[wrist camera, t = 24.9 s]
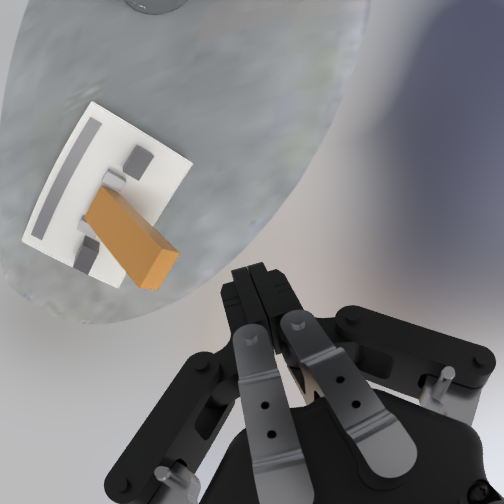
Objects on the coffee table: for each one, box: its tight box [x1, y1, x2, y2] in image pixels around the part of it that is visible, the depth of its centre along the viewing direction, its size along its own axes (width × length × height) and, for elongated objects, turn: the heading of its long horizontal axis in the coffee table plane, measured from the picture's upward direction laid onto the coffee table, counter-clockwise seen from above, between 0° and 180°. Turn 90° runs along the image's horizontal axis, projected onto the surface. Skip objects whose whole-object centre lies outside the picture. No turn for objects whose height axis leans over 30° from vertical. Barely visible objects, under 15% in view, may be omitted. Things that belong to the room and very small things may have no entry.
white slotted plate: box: [22, 101, 193, 288], centre depth 34 cm, size 18×14×8 cm
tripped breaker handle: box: [84, 186, 180, 290], centre depth 29 cm, size 4×2×13 cm
